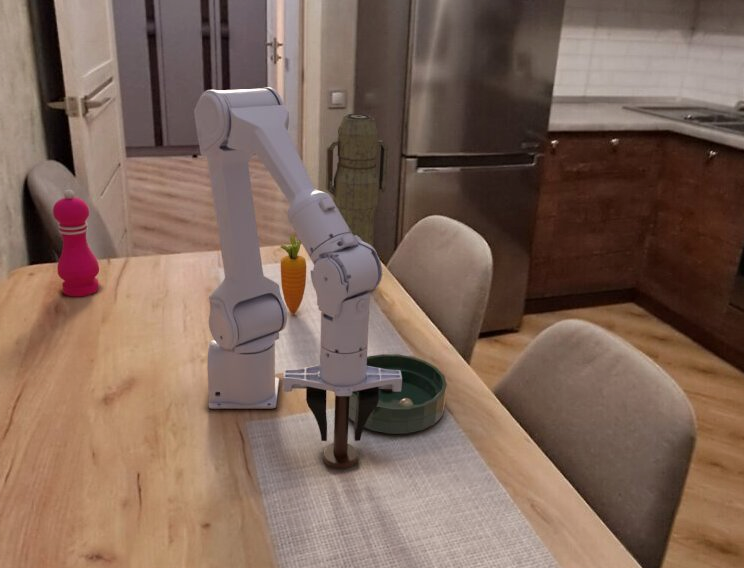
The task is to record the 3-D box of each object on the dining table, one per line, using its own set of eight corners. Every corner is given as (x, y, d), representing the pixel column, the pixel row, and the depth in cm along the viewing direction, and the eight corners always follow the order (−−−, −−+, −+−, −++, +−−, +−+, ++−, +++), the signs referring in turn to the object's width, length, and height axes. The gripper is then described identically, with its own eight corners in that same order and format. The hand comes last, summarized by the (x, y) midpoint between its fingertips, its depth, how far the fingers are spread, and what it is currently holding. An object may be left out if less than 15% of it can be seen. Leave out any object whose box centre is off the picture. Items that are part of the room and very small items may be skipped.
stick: (322, 468, 84) (325, 374, 79) (323, 447, 89) (325, 356, 83) (357, 468, 85) (362, 374, 80) (356, 447, 89) (361, 356, 84)
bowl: (342, 437, 91) (343, 409, 89) (340, 378, 105) (341, 353, 103) (451, 436, 93) (454, 408, 91) (435, 379, 107) (437, 354, 105)
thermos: (317, 280, 141) (320, 112, 128) (369, 274, 146) (377, 111, 132) (331, 297, 133) (336, 120, 120) (385, 290, 138) (396, 119, 125)
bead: (398, 413, 95) (394, 399, 96) (404, 418, 96) (399, 404, 98) (412, 406, 94) (407, 393, 96) (417, 411, 96) (412, 398, 98)
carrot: (301, 321, 123) (302, 244, 117) (275, 317, 124) (275, 240, 118) (310, 310, 127) (311, 235, 122) (285, 306, 128) (285, 232, 122)
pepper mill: (63, 284, 131) (49, 184, 123) (103, 282, 133) (92, 184, 126) (57, 299, 125) (42, 195, 117) (99, 296, 127) (87, 194, 119)
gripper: (281, 358, 76) (281, 456, 81) (407, 359, 78) (399, 455, 83) (284, 330, 82) (284, 422, 88) (401, 331, 84) (394, 422, 89)
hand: (340, 436), depth 86 cm, fingers open, 4 cm apart
